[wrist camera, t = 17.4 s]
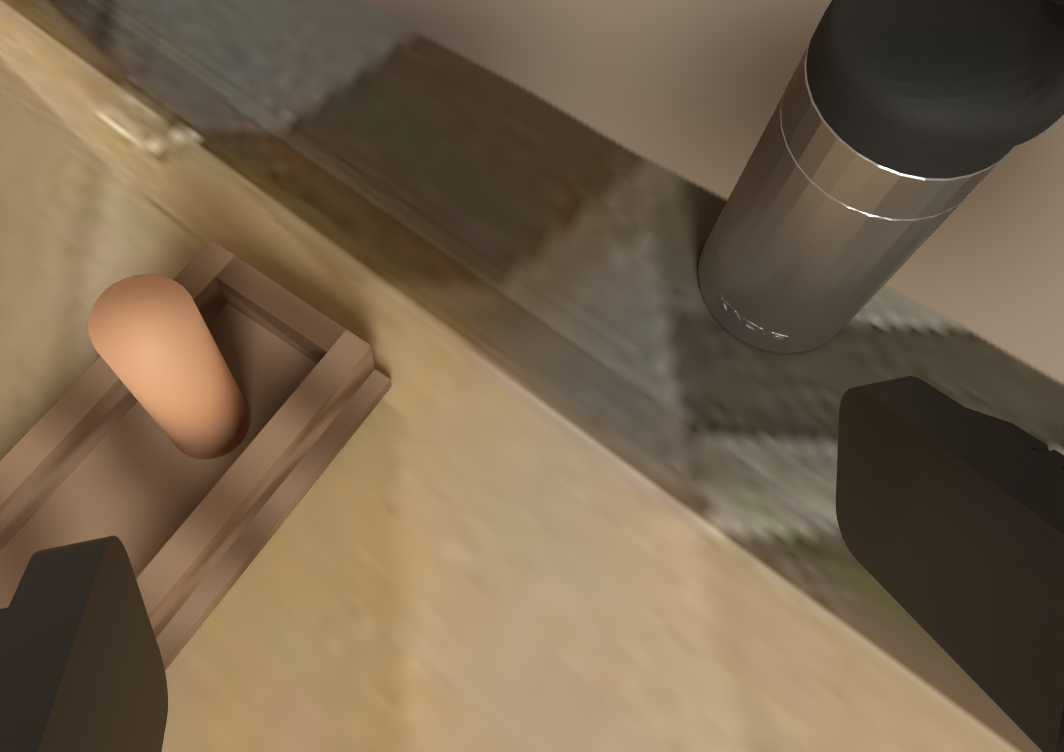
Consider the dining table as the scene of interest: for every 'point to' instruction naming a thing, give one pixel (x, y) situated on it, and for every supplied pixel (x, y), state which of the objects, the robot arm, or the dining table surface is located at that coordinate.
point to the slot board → (180, 480)
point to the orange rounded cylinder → (170, 363)
